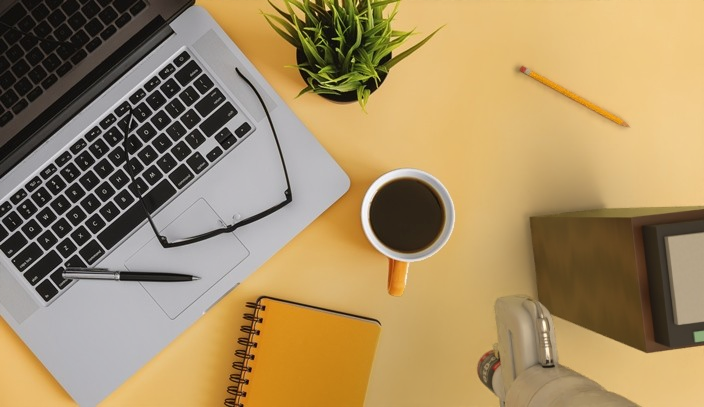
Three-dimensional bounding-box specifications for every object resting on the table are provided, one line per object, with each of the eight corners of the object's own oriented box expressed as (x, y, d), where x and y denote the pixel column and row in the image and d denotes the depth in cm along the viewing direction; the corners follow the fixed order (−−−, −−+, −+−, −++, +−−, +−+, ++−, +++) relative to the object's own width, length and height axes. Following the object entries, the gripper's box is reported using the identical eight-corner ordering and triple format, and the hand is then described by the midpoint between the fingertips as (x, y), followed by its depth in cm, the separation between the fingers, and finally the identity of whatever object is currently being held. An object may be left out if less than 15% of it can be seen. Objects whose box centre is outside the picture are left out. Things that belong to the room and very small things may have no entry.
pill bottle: (488, 342, 67) (513, 358, 59) (520, 361, 67) (550, 380, 59) (468, 376, 67) (492, 397, 59) (501, 395, 67) (529, 419, 59)
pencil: (521, 66, 83) (523, 65, 82) (630, 125, 84) (633, 124, 83) (519, 71, 83) (521, 69, 82) (628, 130, 84) (631, 129, 83)
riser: (616, 300, 83) (756, 338, 57) (539, 310, 82) (646, 353, 56) (605, 208, 83) (740, 204, 57) (529, 216, 82) (630, 217, 56)
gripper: (510, 306, 51) (466, 290, 65) (537, 531, 50) (486, 465, 64) (575, 298, 51) (517, 283, 65) (602, 520, 51) (538, 457, 64)
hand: (502, 375), depth 64 cm, fingers closed on pill bottle, 5 cm apart
